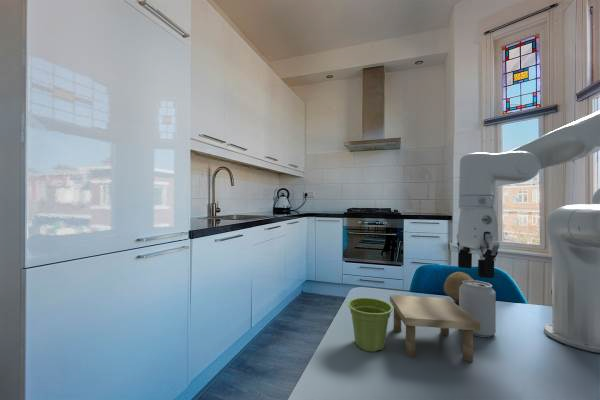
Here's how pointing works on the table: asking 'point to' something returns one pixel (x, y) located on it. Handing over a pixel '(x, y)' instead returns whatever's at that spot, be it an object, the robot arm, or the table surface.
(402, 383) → the table surface
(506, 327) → the table surface
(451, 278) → the natural sponge
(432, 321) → the stool
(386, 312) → the plant pot
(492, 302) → the can
